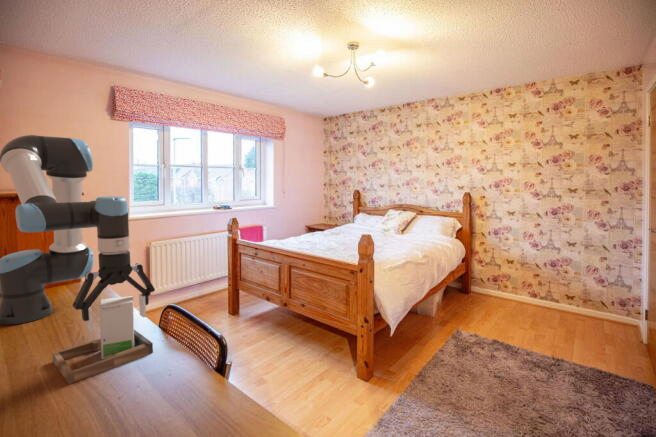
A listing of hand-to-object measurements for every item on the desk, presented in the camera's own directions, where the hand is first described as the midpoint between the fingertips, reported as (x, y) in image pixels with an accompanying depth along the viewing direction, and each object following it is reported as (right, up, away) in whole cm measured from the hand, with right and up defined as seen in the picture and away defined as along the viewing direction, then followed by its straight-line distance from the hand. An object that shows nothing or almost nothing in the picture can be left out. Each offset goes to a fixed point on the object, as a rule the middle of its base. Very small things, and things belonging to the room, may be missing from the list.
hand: (118, 323), depth 97 cm
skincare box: (0, -9, +1) cm, 9 cm away
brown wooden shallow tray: (-2, -9, -2) cm, 10 cm away
